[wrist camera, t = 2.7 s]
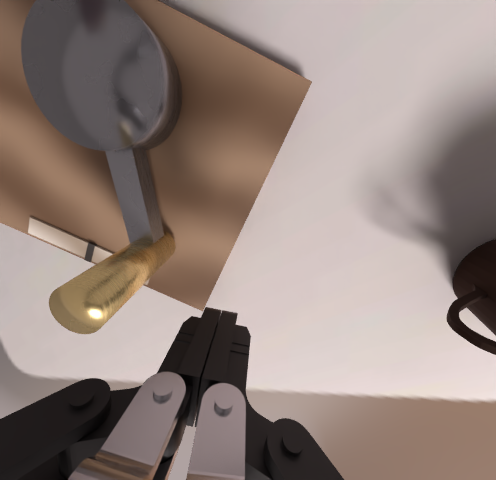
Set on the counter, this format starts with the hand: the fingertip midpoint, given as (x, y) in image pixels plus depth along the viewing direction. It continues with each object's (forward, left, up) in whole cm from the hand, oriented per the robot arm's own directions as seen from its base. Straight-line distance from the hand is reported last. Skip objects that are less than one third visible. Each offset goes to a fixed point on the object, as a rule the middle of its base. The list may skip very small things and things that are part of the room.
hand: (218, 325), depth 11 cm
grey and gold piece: (-4, -9, -7) cm, 12 cm away
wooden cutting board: (-3, -11, -9) cm, 14 cm away
